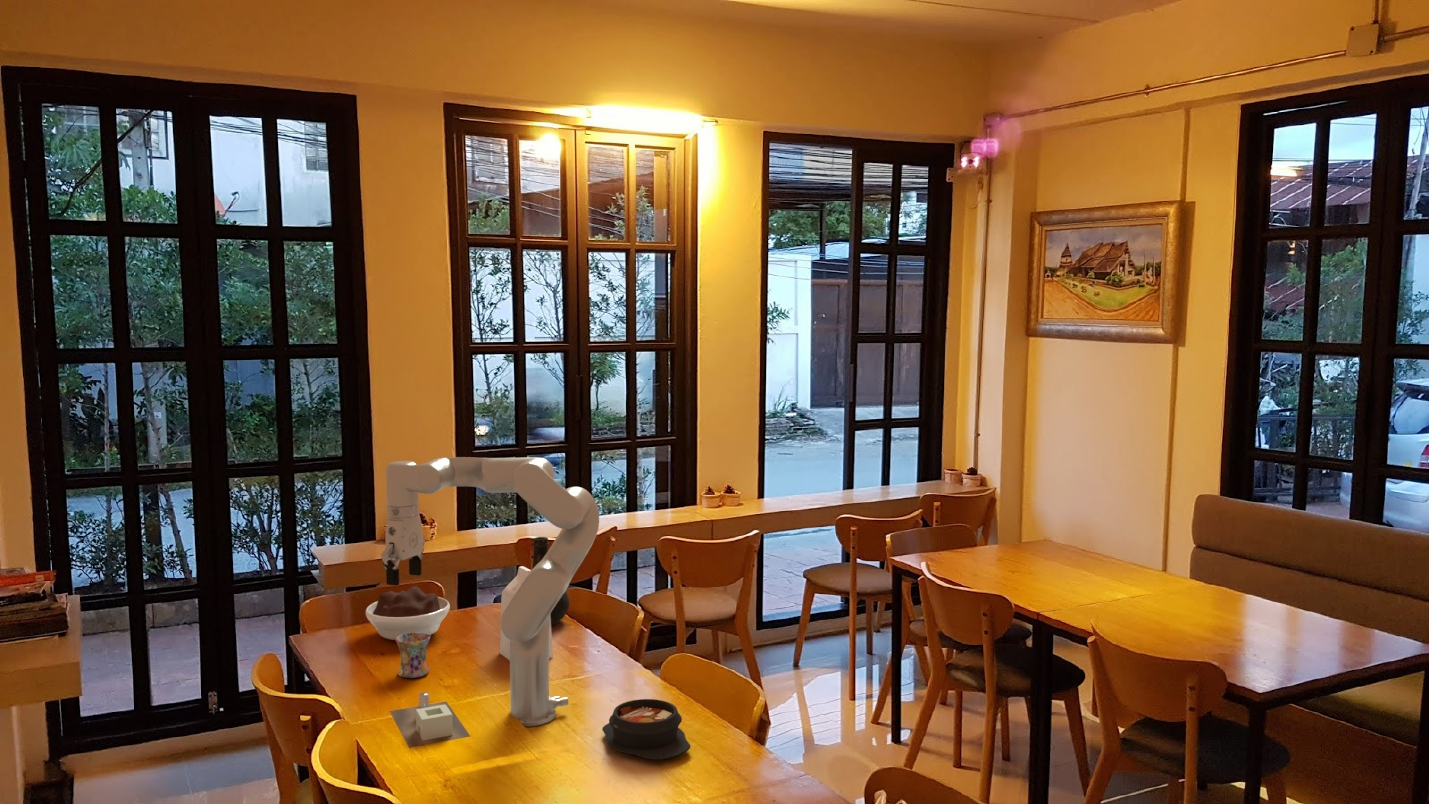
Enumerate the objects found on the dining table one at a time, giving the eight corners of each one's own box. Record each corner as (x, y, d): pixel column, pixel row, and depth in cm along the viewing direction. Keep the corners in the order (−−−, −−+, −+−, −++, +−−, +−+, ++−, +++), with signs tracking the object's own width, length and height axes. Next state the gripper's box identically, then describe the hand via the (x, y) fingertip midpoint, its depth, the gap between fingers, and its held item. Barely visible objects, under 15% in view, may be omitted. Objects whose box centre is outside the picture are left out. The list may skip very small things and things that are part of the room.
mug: (437, 674, 286) (436, 637, 285) (407, 683, 279) (406, 645, 278) (415, 664, 294) (414, 627, 293) (385, 672, 287) (384, 635, 286)
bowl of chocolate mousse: (437, 649, 307) (436, 600, 305) (354, 648, 307) (352, 599, 306) (459, 624, 331) (458, 578, 330) (382, 623, 332) (381, 577, 330)
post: (426, 710, 256) (426, 689, 256) (430, 716, 252) (430, 695, 252) (416, 712, 255) (416, 690, 255) (420, 718, 251) (420, 696, 251)
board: (446, 707, 262) (446, 701, 262) (470, 742, 241) (470, 736, 241) (389, 717, 256) (389, 711, 256) (409, 753, 235) (409, 747, 234)
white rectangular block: (445, 724, 248) (445, 704, 247) (452, 735, 242) (452, 714, 241) (416, 729, 244) (415, 709, 244) (422, 740, 238) (422, 719, 238)
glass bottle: (543, 635, 321) (542, 546, 318) (502, 625, 330) (500, 539, 328) (581, 620, 335) (580, 536, 333) (540, 611, 345) (539, 529, 343)
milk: (553, 657, 300) (552, 570, 298) (516, 665, 294) (514, 575, 291) (535, 646, 310) (534, 561, 308) (499, 653, 303) (498, 567, 301)
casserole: (583, 737, 244) (583, 703, 244) (649, 718, 256) (649, 686, 255) (641, 775, 225) (641, 738, 224) (709, 753, 236) (709, 718, 235)
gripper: (396, 519, 244) (397, 590, 245) (435, 506, 260) (436, 572, 262) (368, 517, 246) (370, 587, 247) (409, 504, 262) (410, 570, 264)
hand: (404, 579), depth 254 cm, fingers open, 9 cm apart
